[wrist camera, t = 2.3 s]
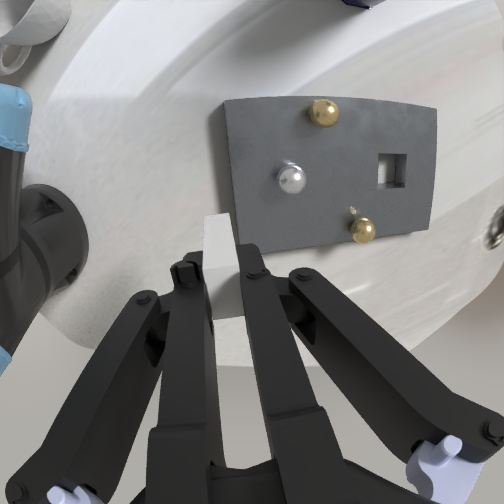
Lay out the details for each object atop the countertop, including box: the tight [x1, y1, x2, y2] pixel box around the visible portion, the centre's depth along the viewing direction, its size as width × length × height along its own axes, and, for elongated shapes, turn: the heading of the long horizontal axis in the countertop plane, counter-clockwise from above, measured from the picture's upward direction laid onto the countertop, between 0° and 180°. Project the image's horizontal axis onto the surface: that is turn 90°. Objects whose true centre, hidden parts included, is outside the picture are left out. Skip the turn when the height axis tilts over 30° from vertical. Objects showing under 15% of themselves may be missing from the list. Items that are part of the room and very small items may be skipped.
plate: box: [224, 96, 437, 254], centre depth 32 cm, size 28×18×2 cm, turn 95°
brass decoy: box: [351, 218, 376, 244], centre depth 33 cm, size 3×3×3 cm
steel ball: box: [276, 165, 307, 195], centre depth 29 cm, size 3×3×3 cm
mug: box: [0, 0, 71, 75], centre depth 14 cm, size 13×9×10 cm
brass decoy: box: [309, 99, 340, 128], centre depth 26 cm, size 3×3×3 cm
